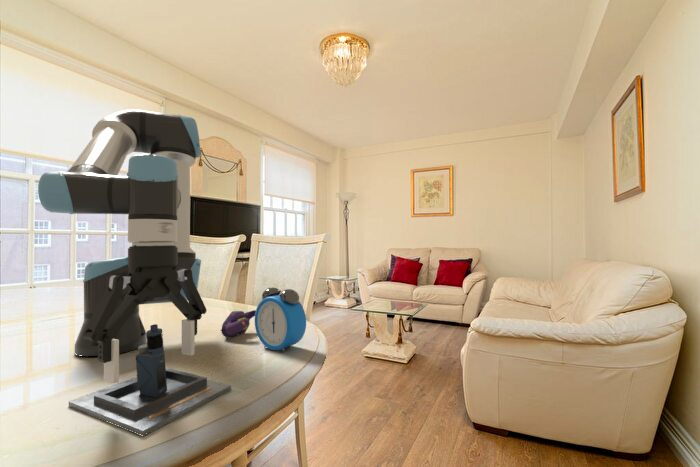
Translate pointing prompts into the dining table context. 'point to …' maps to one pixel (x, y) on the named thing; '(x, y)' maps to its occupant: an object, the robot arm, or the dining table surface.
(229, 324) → the toy
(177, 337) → the dining table surface
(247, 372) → the dining table surface
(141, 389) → the vaping device
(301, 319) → the alarm clock
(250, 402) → the dining table surface
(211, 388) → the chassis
